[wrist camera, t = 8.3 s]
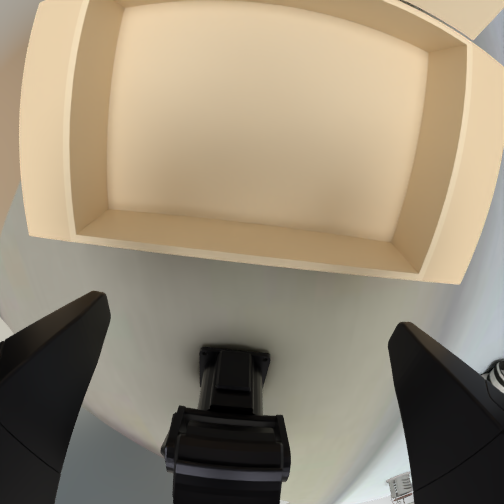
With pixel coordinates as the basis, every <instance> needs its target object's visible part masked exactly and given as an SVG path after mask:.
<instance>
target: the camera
mask: <svg viewBox="0 0 504 504" xmlns="http://www.w3.org/2000/svg"><path fill="white" fill-rule="evenodd" d="M481 376H482V377H484V379H486V380H487V381H489V382H490V383H491V384H492V385H494V386H495V387H496V388H497V389H499V390H500V391H501V392H503V393H504V361H500V362H498V363H497V364H496V365H495V367H494V368H493V370H492V371H491V372H490V373H488V374H483V375H481Z"/></svg>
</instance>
